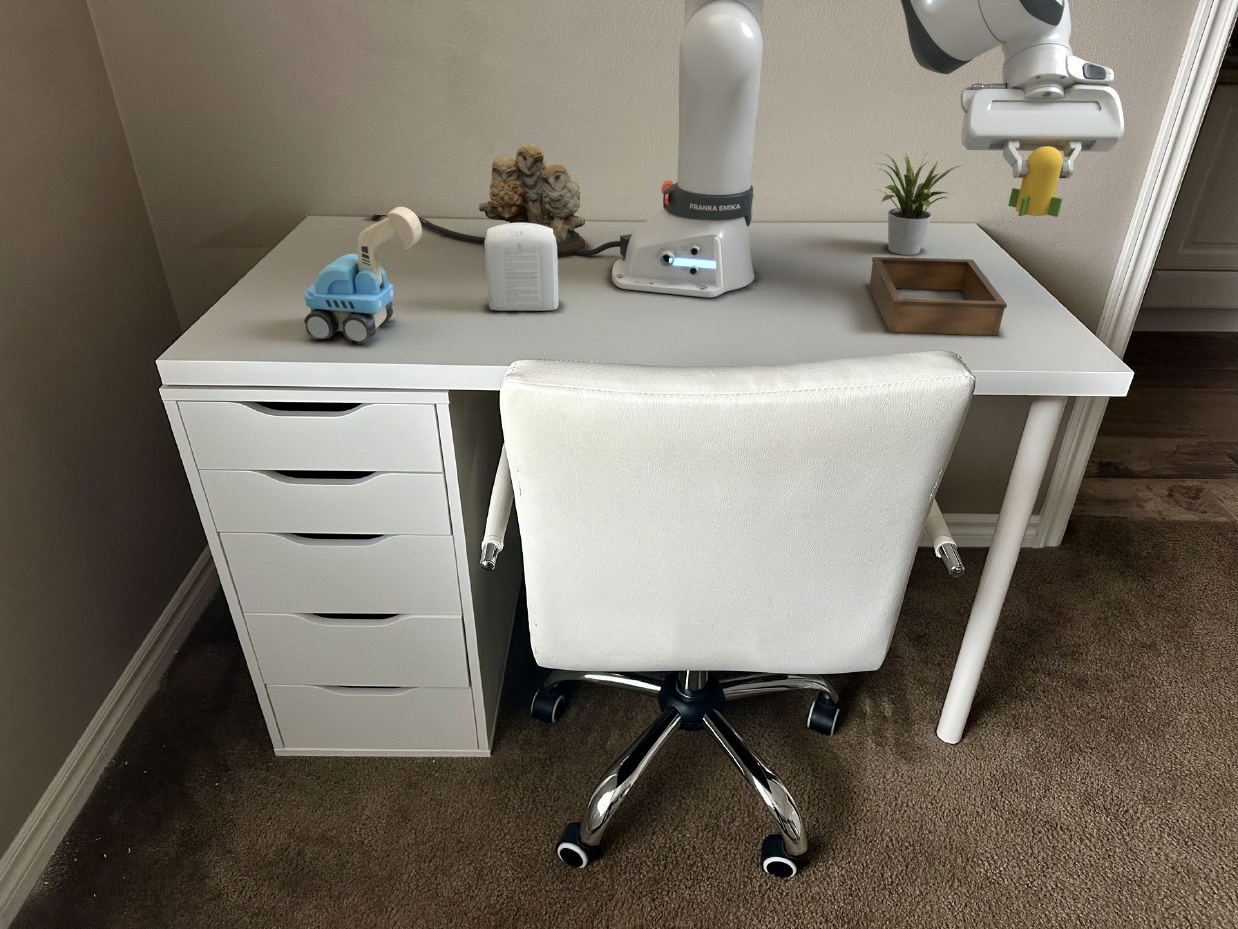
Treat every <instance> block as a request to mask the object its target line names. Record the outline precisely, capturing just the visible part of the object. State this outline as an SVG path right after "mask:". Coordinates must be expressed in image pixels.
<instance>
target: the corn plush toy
mask: <svg viewBox="0 0 1238 929" xmlns="http://www.w3.org/2000/svg"><path fill="white" fill-rule="evenodd" d="M1026 160H1028V164H1029V165H1028V167H1029V172H1028V174H1027V175H1026V177H1025V178H1022V179H1021V184H1020V188H1015V187H1013V188H1012V189H1011V192H1010V196H1009V200H1008V205H1007V207H1012V208H1015V211H1016V212H1017V213H1018V215H1017V216H1018V217H1023V216H1034V217H1041V216H1051V217H1055V218H1058V217H1059V215H1060V210H1061V208H1062V204H1063V200H1064V199H1063V198H1062V197H1057V196H1055V195H1056V192H1057V187H1058V183H1059V180H1060V178H1059V176H1060V172H1061V169H1062V164H1063V161H1064V158H1063V155H1062V153H1061V151H1058V150H1057V149H1056V148H1054V147H1050V146H1044V147H1040V148H1038V149H1036V150H1035V151H1031V153H1030V154H1029V155H1028V157H1027V159H1026Z"/></svg>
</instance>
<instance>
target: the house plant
mask: <svg viewBox="0 0 1238 929" xmlns="http://www.w3.org/2000/svg"><path fill="white" fill-rule="evenodd" d="M878 153H880V154H881V155H885V156H886V157H888V158H889V159H890V161H891V162H892V164H893V166H894V168H893V167H892V166H890V165H888V164H885V163H882V165H883V166H886V167H888V168H889V169H890V170H891V171H892V172H893V173H894V175H895V177H896V178H897V180H898V182H899V185H900V187H901V190H902V191H901V190H900V188H899V187H898V186H897V184H896V181H895V180H894V178H893V176H892V175H891V174H890V173H889V172H888V171H887V170H885V169H881V168H878V171H879V170H881V171H883V172H885V173H886V174H887V175H888V176H889V177H890V179H891V181H892V183H893V184H889V185H887V186H884V189H888V190H889V191H888V192H887V193H886V192H884V194H885V195H884V196H883V197H882V199H881V201H880V204H882V203H883V202H886V201H887V200H890V201H891V202H892V203H893V204H894V206H895V208H892V209H890V210H888V214H887V234H888V235H887V249H888V251H889V252H891V253H894V254H898V255H904V256H905V255H906V256H911V255H912V256H913V255H917V254H919V253H920V251H921V249H922V246H923V244H924V240H925V237H926V235H927V231H928V229H929V226H930V223H931V221H932V218H933V214H932V213H931V212H929V211H928V209H929V207H931V205H932V204H934V203H935V202H937V201H939V200H941V199H942V200H943V199H948V197H947V196H940V197H938V198H935V199H933V200H932V201H930V199H931V198H932V197H934V196H938V195H943V194H948V192H946V191H940V190H939V191H931V189H932V188H933V187H934V186H935V185H936V184H937V183H938V182H939V181H940V180H942V179H943V178H944V177H945V176H947V175H948V174H949V173H950V172H951V171H953V170H955V169H957V168H959V167H961V165H957V166H953V167H951V168H949V169H947V170H946V171H944V172H943V173H942V172H941V173H936V174H934V173H935V171H936V168H937V166H938V161H939V160H938V161H936V162H935V164H934V165H933V167H932V168H931V170H930V171H929V173H928V175H927V176H926V178H925V179H924V181H923V182H921V183H918V180H919V176H920V174H921V171H922V169H923V167H924V166H925V165H926V164H927V163H928V162H930V161H931V159H929V160H928V161H926V162H924V159H925V158H926V156H927V155H928V153H925V155H924V157H923V158H922V160H921V162H920V164H919V166H918V169H917V171H916V172H914V169H913V167H912V164H911V160H910V157H909V156H908V154H907V153H904V155H902V156H903V159H904V161H905V166H906V167H905V168H906V170H905V173H904V174H903V177H902V175H901V171H900V168H899V166H898V165H897V162H896V161H895V159H894V158H893V157H892V156H890V155H888V154H886V153H884V152H880V151H879V152H878ZM923 162H924V164H922V163H923ZM875 164H876V165H880V163H879V162H878V163H877V162H874V165H875ZM903 178H904V181H903ZM917 184H918V185H917ZM876 191H879V192H881V190H879V189H876ZM890 192H891V193H892V194H889V193H890ZM893 198H896V199H897V201H898V204H899V206H898V204H896V202H895V201H894V200H893ZM924 207H925V208H924Z"/></svg>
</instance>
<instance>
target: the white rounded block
mask: <svg viewBox="0 0 1238 929" xmlns="http://www.w3.org/2000/svg"><path fill="white" fill-rule="evenodd" d="M507 223H508V224H507ZM507 223H503V224H499V225H495V226H491V227H489V228H487V231H486V235H485V243H483V244H484V257H485V258H484V259H485V272H486V287H487V300H488V308H489V309H490V310H491V311H555V310H557V309H558V308H559V305H560V304H559V302H560V301H559V268H558V267H559V266H558V265H559V264H558V262H559V261H558V257H557V243H556V238H555V236H554V234H553V229H551V228H549V227H546V226H543V225H538V224H533V223H510V222H507Z"/></svg>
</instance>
